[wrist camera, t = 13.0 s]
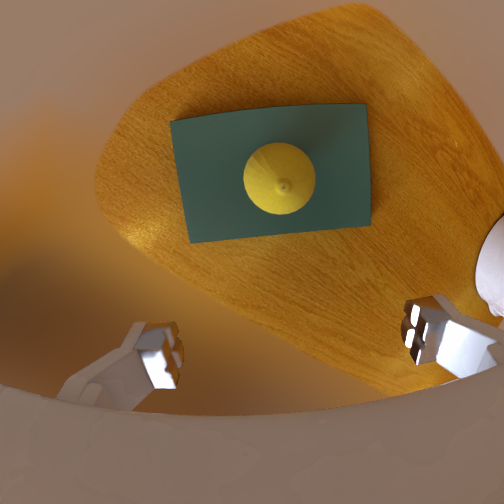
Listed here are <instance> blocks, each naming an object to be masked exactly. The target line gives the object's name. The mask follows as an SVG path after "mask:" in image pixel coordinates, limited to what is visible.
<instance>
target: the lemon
mask: <svg viewBox="0 0 504 504" xmlns="http://www.w3.org/2000/svg"><path fill="white" fill-rule="evenodd" d="M243 180H244V185H245V189H246V192H247V194H248V196H249V198H250V199H251V200H252V201H253V202H254V204H255V205H257V206H258V207H259V208H261V209H262V210H264V211H267V212H269V213H272V214H279V215H280V214H289V213H292V212H295V211H297V210H298V209H300V208H301V207H303V206H304V205H305V204H306V203H307V202H308V201H309V199H310V197H311V196H312V194H313V191H314V188H315V171H314V167H313V164H312V163H311V161H310V159H309V157H308V156H307V155H306V154H305V153H304V152H303V151H302V150H300V149H299V148H297V147H295V146H294V145H291V144H287V143H277V142H275V143H271V144H266V145H264V146H262V147H260V148H259V149H257V150H256V151H255V152H254V153H253V154H252V155H251V157H250V158H249V160H248V161H247V163H246V166H245V169H244V179H243Z"/></svg>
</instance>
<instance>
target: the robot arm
mask: <svg viewBox="0 0 504 504" xmlns="http://www.w3.org/2000/svg"><path fill="white" fill-rule="evenodd" d="M475 279H476V288H477V291H478V293H479V295H480V297H481V298H482V299H483V300H485V301H486V302H487V303H488V305H489V309H490V312H491V313H492V314H493V315H494V316H498V315H502V316H503V317H504V215H503V216H502V217H501V218H500V219H499V220H498V222H497V223H496V224H495V225H494V227H493V228H492V229H491V231H490V233H489V234H488V236H487V238H486V240H485V242H484V244H483V246H482V249H481V252H480V255H479V258H478V262H477V267H476V278H475ZM404 312H405V313H406V316H405V317H404V319H403V320H402V323H401V336H402V340H403V342H404V344H405V345H406V346H408V347H410V348H411V349H410V355H411V356H412V358H413V360H414V362H415V364H416V365H418V364H423V363H428V362H432V361H436V362H437V363H439V364H440V365H442V366H443V367H444V368H446V369H447V370H449V371H450V372H452V373H453V374H455V375H456V376H457V377H459V378H460V379H457V380H454V381H451V382H448V383H445V384H441V385H438V386H434V387H431V388H427V389H423V390H420V391H416V392H412V393H408V394H404V395H400V396H395V397H391V398H386V399H381V400H377V401H371V402H366V403H361V404H355V405H349V406H342V407H336V408H328V409H321V410H312V411H303V412H293V413H281V414H266V415H243V416H190V415H170V414H156V413H146V412H145V413H144V412H135V411H132V410H133V409H134V408H135V407H136V406H137V405H138V404H139V403H140V402H141V401H142V400H143V399H144V398H145V397H146V396H147V395H148V394H149V393H150V392H151V391H152V390H153V388H176V387H177V383H178V380H179V377H180V374H179V371H178V369H180V368H181V367H182V366H183V362H184V347H183V344H182V341H181V340H180V339H179V338H178V337H177V335H178V332H179V330H178V327H177V324H176V323H175V322H135V323H134V324H133V325H132V327H131V329H130V331H129V332H128V334H127V336H126V338H125V339H124V341H123V343H122V345H121V347H120V348H119V349H114V350H113V351H111V352H109V353H108V354H106V355H105V356H103V357H101V358H100V359H98V360H97V361H95V362H93V363H92V364H90V365H88V366H87V367H85V368H84V369H82V370H80V371H79V372H77V373H76V374H74V375H72V376H71V377H69V378H68V379H67V380H66V382H65V384H64V385H63V387H62V389H61V390H60V392H59V394H58V395H57V397H56V398H52V397H47V396H43V395H39V394H35V393H31V392H28V391H24V390H20V389H17V388H14V387H10V386H7V385H4V384H1V383H0V504H504V331H503V330H501V329H498V328H496V327H494V326H491V325H489V324H486V323H484V322H481V321H479V320H477V319H474V318H472V317H469V316H467V315H466V316H463V315H462V314H461V313H460V312H459V311H458V309H457V308H456V307H455V306H454V305H453V304H452V303H451V302H450V301H449V299H448V298H447V297H446V296H445V295H444V294H437V295H432V296H428V297H423V298H418V299H412V300H407V301H406V303H405V306H404Z"/></svg>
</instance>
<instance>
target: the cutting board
mask: <svg viewBox="0 0 504 504" xmlns="http://www.w3.org/2000/svg"><path fill="white" fill-rule="evenodd" d="M170 128H171V135H172V142H173V148H174V155H175V161H176V167H177V174H178V180H179V186H180V191H181V197H182V203H183V208H184V214H185V219H186V225H187V230H188V235H189V240H190V244H192V243H201V242H210V241H220V240H229V239H239V238H248V237H258V236H268V235H278V234H288V233H298V232H308V231H319V230H329V229H340V228H351V227H362V226H371V175H370V150H369V133H368V119H367V108H366V104H308V105H290V106H277V107H265V108H255V109H246V110H238V111H230V112H223V113H216V114H209V115H203V116H197V117H191V118H186V119H180V120H175V121H170ZM275 142H277V143H287V144H291V145H294V146H295V147H297V148H299V149H300V150H302V151H303V152H304V153H305V154H306V155H307V156H308V157H309V159H310V161H311V163H312V164H313V167H314V171H315V188H314V191H313V194H312V196H311V197H310V199H309V201H308V202H307V203H306V204H305V205H304V206H303V207H301V208H300V209H298V210H297V211H295V212H292V213H289V214H280V215H279V214H272V213H269V212H267V211H264V210H262V209H261V208H259V207H258V206H257V205H255V204H254V202H253V201H252V200H251V199H250V198H249V196H248V194H247V192H246V189H245V185H244V180H243V179H244V169H245V166H246V163H247V161H248V160H249V158H250V157H251V155H252V154H253V153H254V152H255V151H256V150H257V149H259V148H260V147H262V146H264V145H266V144H271V143H275Z"/></svg>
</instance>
